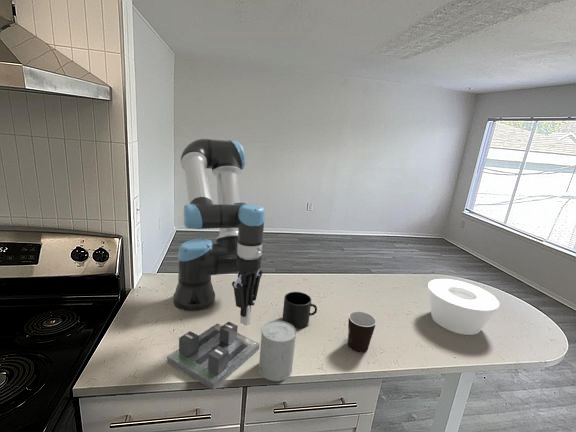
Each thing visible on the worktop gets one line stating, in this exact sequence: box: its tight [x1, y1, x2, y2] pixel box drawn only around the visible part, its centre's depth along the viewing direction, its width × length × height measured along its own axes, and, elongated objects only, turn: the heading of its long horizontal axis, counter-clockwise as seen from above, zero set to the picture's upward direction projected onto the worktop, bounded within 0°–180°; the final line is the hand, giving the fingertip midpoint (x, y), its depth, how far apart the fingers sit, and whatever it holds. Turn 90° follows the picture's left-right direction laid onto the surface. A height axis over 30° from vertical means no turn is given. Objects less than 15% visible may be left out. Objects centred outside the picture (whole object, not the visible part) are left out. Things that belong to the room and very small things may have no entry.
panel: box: [166, 323, 261, 391], centre depth 95 cm, size 17×20×2 cm
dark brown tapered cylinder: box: [347, 310, 377, 354], centre depth 105 cm, size 12×9×10 cm
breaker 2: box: [208, 346, 229, 374], centre depth 87 cm, size 4×4×5 cm
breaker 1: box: [178, 331, 200, 357], centre depth 92 cm, size 4×4×5 cm
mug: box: [281, 291, 318, 329], centre depth 115 cm, size 9×12×9 cm
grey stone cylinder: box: [258, 320, 297, 382], centre depth 91 cm, size 10×10×12 cm
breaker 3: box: [219, 321, 239, 345], centre depth 99 cm, size 4×4×5 cm
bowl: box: [427, 278, 500, 336], centre depth 124 cm, size 24×24×12 cm
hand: (245, 323), depth 106 cm, fingers closed
